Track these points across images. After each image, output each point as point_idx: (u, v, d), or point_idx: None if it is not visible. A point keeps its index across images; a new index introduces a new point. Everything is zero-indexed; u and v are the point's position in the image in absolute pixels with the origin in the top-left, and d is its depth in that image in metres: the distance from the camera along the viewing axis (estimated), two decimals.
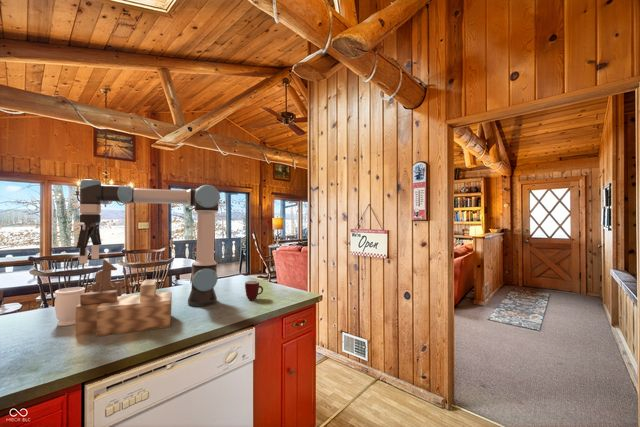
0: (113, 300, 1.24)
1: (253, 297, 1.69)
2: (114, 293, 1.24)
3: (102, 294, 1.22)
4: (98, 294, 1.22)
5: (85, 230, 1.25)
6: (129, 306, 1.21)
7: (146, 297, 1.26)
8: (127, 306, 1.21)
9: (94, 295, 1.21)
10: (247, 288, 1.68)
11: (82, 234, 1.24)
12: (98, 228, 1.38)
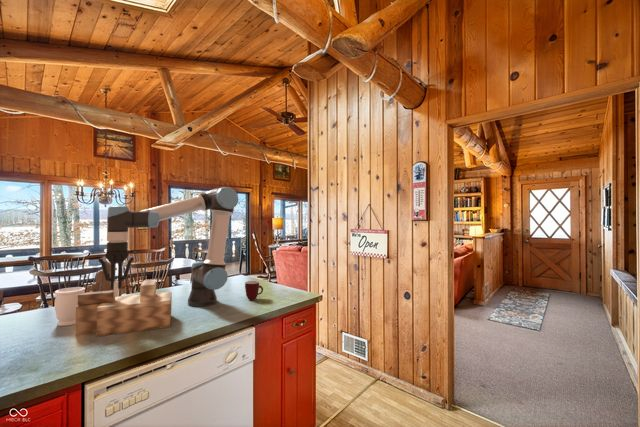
0: (111, 300, 1.24)
1: (253, 297, 1.69)
2: (112, 293, 1.24)
3: (100, 294, 1.22)
4: (96, 294, 1.22)
5: None
6: (129, 306, 1.21)
7: (146, 297, 1.26)
8: (127, 306, 1.21)
9: (92, 295, 1.21)
10: (247, 288, 1.68)
11: None
12: (130, 261, 1.27)
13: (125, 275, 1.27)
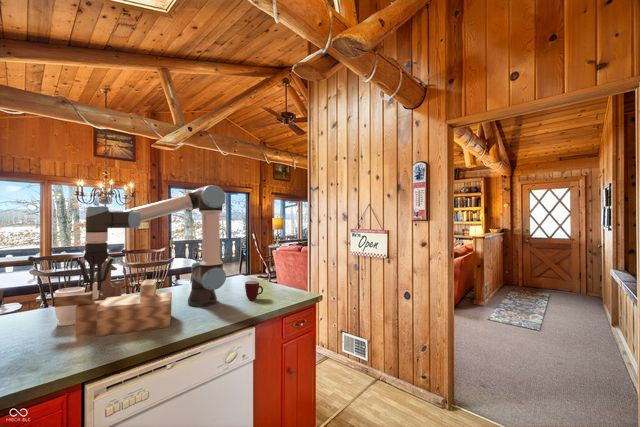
0: (89, 302, 1.21)
1: (253, 297, 1.69)
2: (90, 295, 1.21)
3: (78, 296, 1.19)
4: (73, 296, 1.18)
5: None
6: (129, 306, 1.21)
7: (146, 297, 1.26)
8: (127, 306, 1.21)
9: (69, 297, 1.18)
10: (247, 288, 1.68)
11: None
12: (110, 263, 1.24)
13: (104, 277, 1.24)
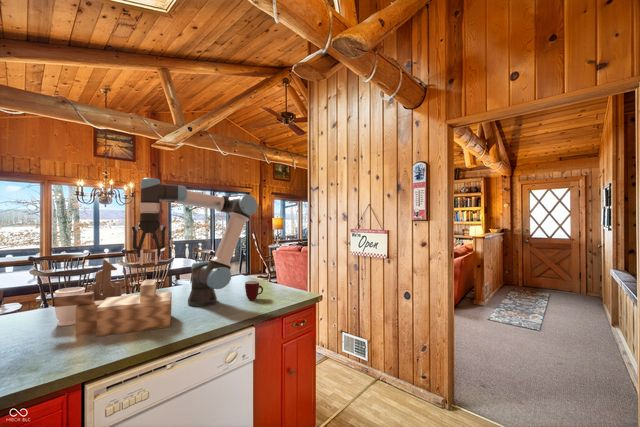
0: (89, 302, 1.21)
1: (253, 297, 1.69)
2: (90, 295, 1.21)
3: (77, 296, 1.19)
4: (73, 296, 1.18)
5: None
6: (129, 306, 1.21)
7: (146, 297, 1.26)
8: (127, 306, 1.21)
9: (69, 297, 1.18)
10: (247, 288, 1.68)
11: None
12: (163, 230, 1.33)
13: (163, 244, 1.33)
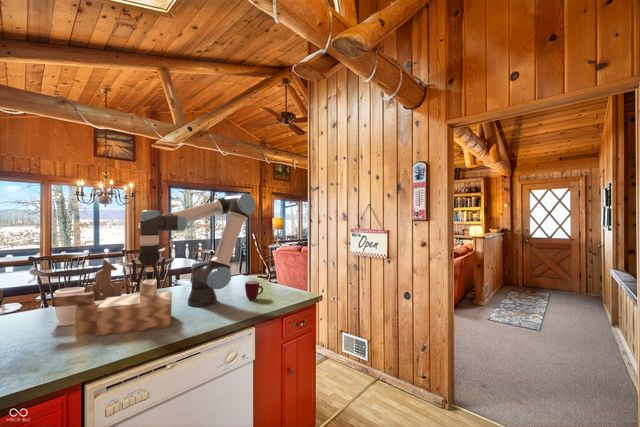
0: (89, 302, 1.21)
1: (253, 297, 1.69)
2: (90, 295, 1.21)
3: (77, 296, 1.19)
4: (73, 296, 1.18)
5: None
6: (129, 306, 1.21)
7: (146, 297, 1.26)
8: (127, 306, 1.21)
9: (69, 297, 1.18)
10: (247, 288, 1.68)
11: (133, 269, 1.29)
12: (163, 262, 1.33)
13: (162, 276, 1.33)
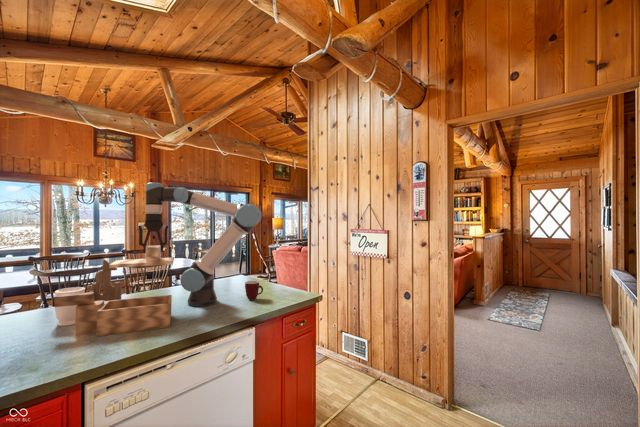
0: (89, 302, 1.21)
1: (253, 297, 1.69)
2: (90, 295, 1.21)
3: (77, 296, 1.19)
4: (73, 296, 1.18)
5: None
6: (137, 265, 1.39)
7: (152, 258, 1.43)
8: (135, 264, 1.38)
9: (69, 297, 1.18)
10: (247, 288, 1.68)
11: None
12: (166, 229, 1.50)
13: (165, 241, 1.50)
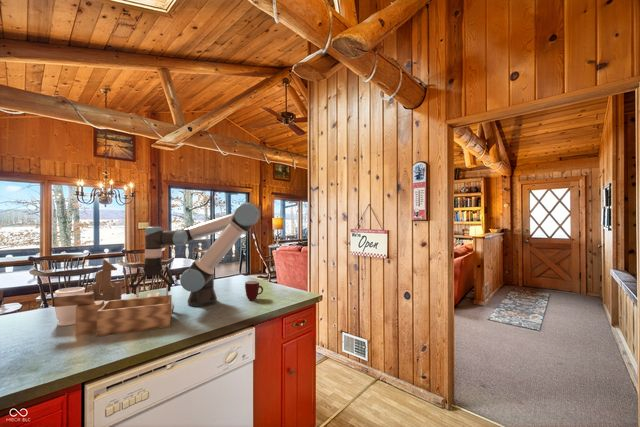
0: (89, 302, 1.21)
1: (253, 297, 1.69)
2: (90, 295, 1.21)
3: (77, 296, 1.19)
4: (73, 296, 1.18)
5: None
6: None
7: None
8: None
9: (69, 297, 1.18)
10: (247, 288, 1.68)
11: None
12: (167, 270, 1.50)
13: (172, 280, 1.51)
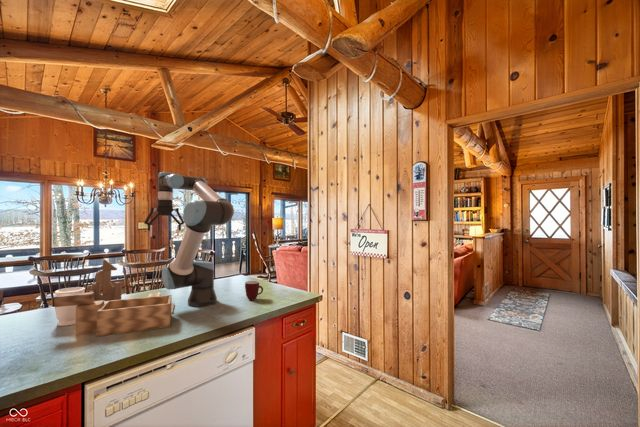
0: (89, 302, 1.21)
1: (253, 297, 1.69)
2: (90, 295, 1.21)
3: (77, 296, 1.19)
4: (73, 296, 1.18)
5: None
6: None
7: None
8: None
9: (69, 297, 1.18)
10: (247, 288, 1.68)
11: (148, 215, 1.64)
12: (177, 211, 1.69)
13: (182, 221, 1.70)
